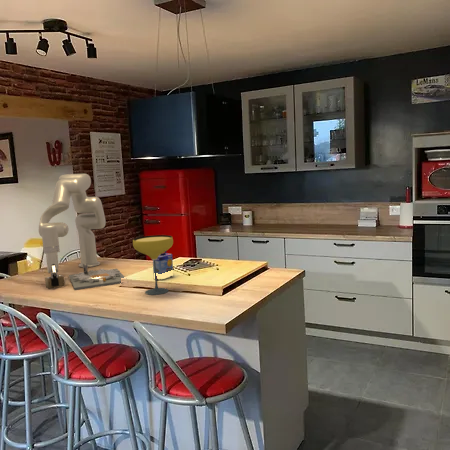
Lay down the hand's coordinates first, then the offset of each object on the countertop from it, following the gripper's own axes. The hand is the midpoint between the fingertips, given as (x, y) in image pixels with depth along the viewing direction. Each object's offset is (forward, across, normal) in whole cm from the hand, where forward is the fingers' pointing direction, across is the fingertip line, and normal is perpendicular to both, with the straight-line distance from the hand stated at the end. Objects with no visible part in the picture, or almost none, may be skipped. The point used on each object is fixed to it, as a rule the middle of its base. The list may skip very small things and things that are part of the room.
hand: (55, 284), depth 237 cm
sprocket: (0, -2, +21) cm, 21 cm away
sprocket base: (+1, -2, +21) cm, 21 cm away
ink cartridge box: (+1, +16, +52) cm, 54 cm away
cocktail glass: (+1, +40, +42) cm, 58 cm away
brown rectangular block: (+1, 0, 0) cm, 1 cm away
